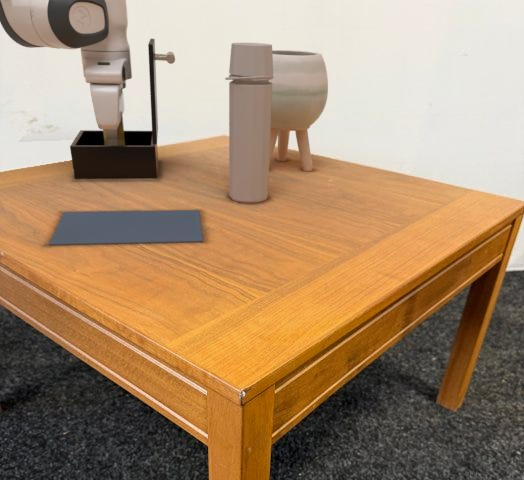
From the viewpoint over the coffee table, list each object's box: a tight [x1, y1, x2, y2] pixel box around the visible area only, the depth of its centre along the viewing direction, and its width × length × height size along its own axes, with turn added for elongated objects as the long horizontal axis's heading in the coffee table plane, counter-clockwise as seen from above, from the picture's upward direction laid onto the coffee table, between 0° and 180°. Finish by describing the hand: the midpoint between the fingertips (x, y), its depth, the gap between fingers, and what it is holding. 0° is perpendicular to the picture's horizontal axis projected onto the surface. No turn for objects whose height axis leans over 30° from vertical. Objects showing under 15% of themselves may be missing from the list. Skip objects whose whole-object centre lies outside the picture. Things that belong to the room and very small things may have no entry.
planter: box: [269, 49, 329, 172], centre depth 114 cm, size 16×16×22 cm
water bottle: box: [224, 42, 274, 204], centre depth 95 cm, size 9×8×25 cm
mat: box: [48, 209, 204, 247], centre depth 86 cm, size 22×14×1 cm, turn 98°
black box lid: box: [147, 38, 176, 145], centre depth 106 cm, size 17×15×5 cm
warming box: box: [69, 129, 159, 180], centre depth 111 cm, size 16×15×7 cm
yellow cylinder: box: [102, 111, 125, 146], centre depth 109 cm, size 4×4×10 cm
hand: (114, 144), depth 110 cm, fingers closed on yellow cylinder, 4 cm apart
